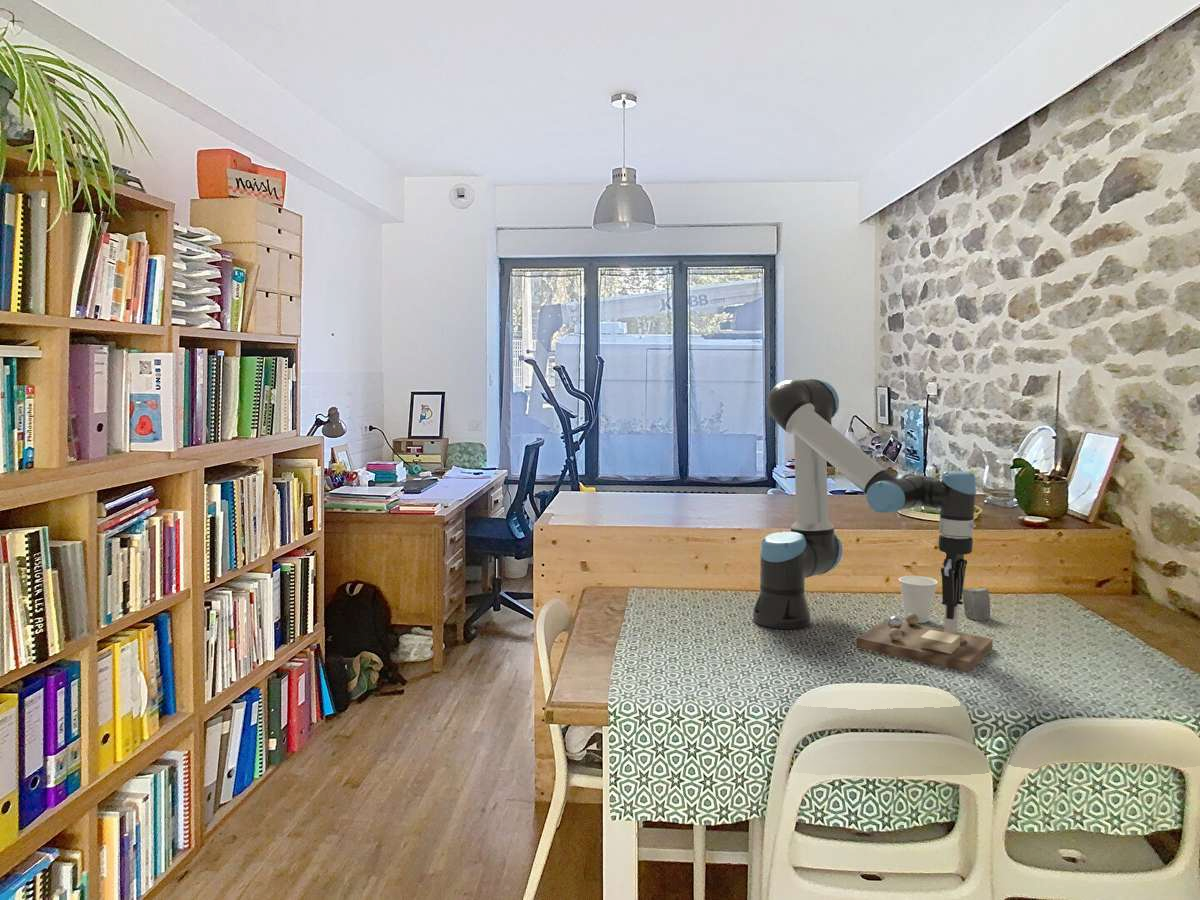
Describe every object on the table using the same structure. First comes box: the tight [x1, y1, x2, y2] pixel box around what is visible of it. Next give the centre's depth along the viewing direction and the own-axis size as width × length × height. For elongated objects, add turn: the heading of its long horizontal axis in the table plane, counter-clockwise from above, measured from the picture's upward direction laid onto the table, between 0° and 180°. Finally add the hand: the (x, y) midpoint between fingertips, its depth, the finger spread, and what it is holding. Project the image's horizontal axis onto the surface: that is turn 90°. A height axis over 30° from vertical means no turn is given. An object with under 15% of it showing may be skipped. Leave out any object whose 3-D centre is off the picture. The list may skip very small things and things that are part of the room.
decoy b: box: [905, 613, 919, 625], centre depth 213 cm, size 3×3×3 cm
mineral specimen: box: [962, 587, 991, 622], centre depth 229 cm, size 7×9×8 cm
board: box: [855, 618, 993, 673], centre depth 203 cm, size 26×20×2 cm
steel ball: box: [887, 615, 903, 629], centre depth 209 cm, size 4×4×4 cm
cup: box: [898, 575, 939, 624], centre depth 225 cm, size 10×10×11 cm
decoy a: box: [889, 628, 902, 641], centre depth 201 cm, size 3×3×3 cm
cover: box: [920, 630, 960, 654], centre depth 196 cm, size 7×7×2 cm
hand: (950, 630), depth 203 cm, fingers closed
